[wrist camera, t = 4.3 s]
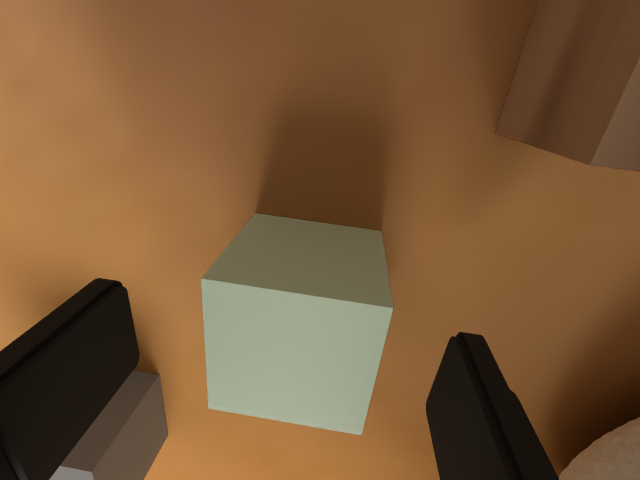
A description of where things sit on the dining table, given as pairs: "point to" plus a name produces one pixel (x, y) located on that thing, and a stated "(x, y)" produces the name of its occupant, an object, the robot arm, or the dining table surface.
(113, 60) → the dining table surface
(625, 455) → the cereal bowl
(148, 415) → the gray cube
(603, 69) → the walnut cube
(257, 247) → the sage green cube
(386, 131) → the dining table surface
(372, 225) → the dining table surface
